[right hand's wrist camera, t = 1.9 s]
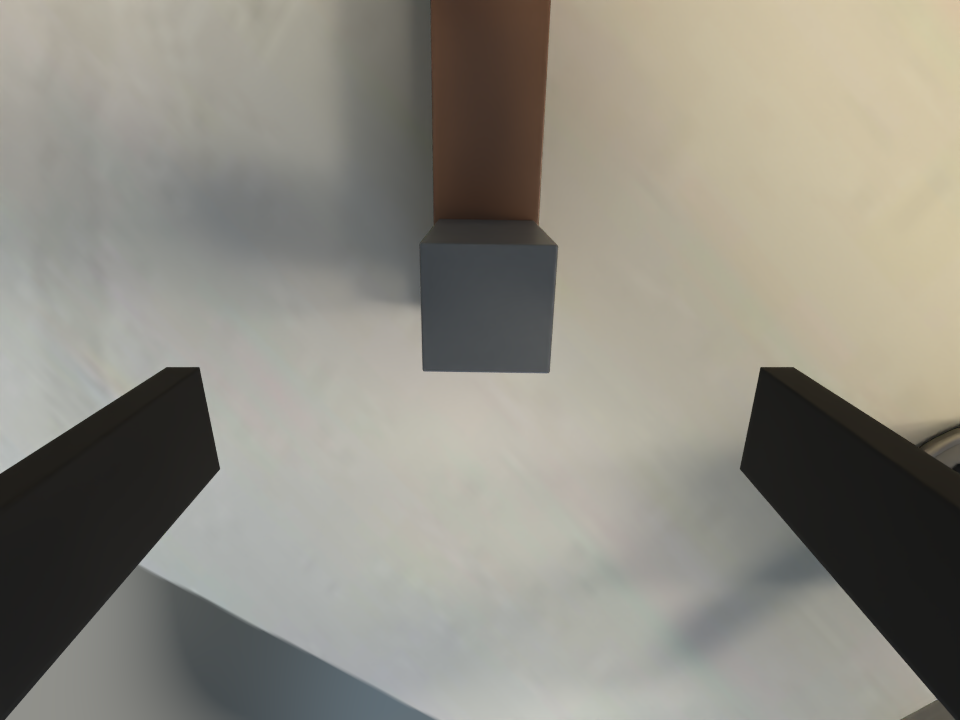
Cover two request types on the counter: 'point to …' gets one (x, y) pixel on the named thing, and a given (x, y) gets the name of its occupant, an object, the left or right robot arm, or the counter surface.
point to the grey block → (487, 296)
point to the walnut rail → (488, 107)
